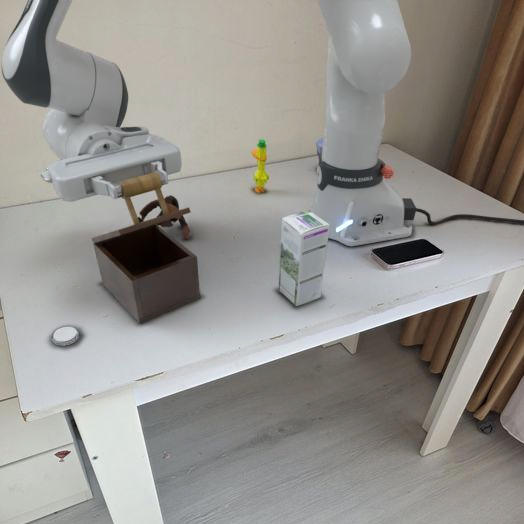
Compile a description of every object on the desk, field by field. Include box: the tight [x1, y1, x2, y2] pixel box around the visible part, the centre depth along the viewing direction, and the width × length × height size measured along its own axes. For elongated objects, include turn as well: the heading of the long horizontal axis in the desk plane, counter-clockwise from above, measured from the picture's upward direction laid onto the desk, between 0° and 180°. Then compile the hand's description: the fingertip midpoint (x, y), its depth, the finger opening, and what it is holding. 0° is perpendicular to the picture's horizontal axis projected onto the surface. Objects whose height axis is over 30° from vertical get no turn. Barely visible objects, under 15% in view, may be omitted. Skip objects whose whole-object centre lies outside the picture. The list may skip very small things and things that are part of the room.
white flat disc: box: [51, 325, 80, 346], centre depth 76 cm, size 4×4×1 cm
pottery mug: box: [137, 195, 191, 241], centre depth 99 cm, size 12×10×8 cm
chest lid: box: [91, 172, 192, 243], centre depth 77 cm, size 15×12×7 cm
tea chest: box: [92, 224, 201, 324], centre depth 83 cm, size 14×12×8 cm
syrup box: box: [278, 210, 330, 307], centre depth 81 cm, size 6×6×14 cm
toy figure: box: [251, 139, 270, 194], centre depth 112 cm, size 7×4×12 cm, turn 27°
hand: (142, 186), depth 71 cm, fingers closed on chest lid, 6 cm apart
